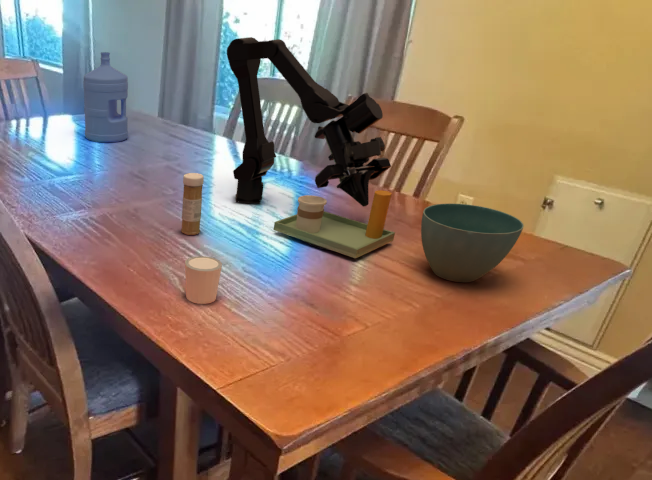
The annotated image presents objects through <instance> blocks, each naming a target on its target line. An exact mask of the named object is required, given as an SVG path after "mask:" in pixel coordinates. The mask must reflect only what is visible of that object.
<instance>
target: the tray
mask: <svg viewBox="0 0 652 480" xmlns="http://www.w3.org/2000/svg"><path fill="white" fill-rule="evenodd" d="M392 195H393V193H392V192H391V191H389V190H382V189H381V190H380V189H377V190H375V191H374V193H373V197H372V202H371V207H370V211H369V216H368V221H367V223H365V222H362V221H358V220H354V219H353V218H348V217H346V216H341V215H339V214H336V213H332V212H328V211H326V210H324V213H323V217H322V221H321V226H320V231H319V232H317V233H309V232H306V231H303V230H300V229H297V228H295V227H296V221H297V213H296V214H293V215H290V216H287V217H285V218H282V219H279V220H277V221H274V223H273V231H275V232H278V233H280V234H284V235H287V236H289V237H292V238H296V239H298V240H301V241H303V240H304V241H307V242H310V243H312V244H315V245H318V246H321V247H324V248H327V249H330V250H329V251H333V252H336V253H339V254H342V255H344V256H347V257H349V258H353V259H357V258H359V257H361V256H363V255H364V256H365V255H366V254H368V253H370V252H373V251H374V250H376V249H379V248H382V247H384V246H385V245H387V244H389V243H392V242H394V240H395V235H396V232H395V231H393V230H392V231H391V230H389V229H385V225H386V220H387V215H388V212H389V207H390V203H391V199H392ZM304 241H303V242H304Z"/></svg>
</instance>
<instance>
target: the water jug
mask: <svg viewBox="0 0 652 480" xmlns="http://www.w3.org/2000/svg"><path fill="white" fill-rule="evenodd" d="M110 54H111V52H106V51H105V52H104V51H102V52H100V65H99V66H98V67H95V68H94V69H92V70H91V71H88V72H87V73H85V74H84V75H83V82H82V83H83V84H82V85H83V86H82V87H83V99H84V101H83V102H84V103H83V104H84V106H83V112H84V136H85V138H86V139H87V140H88V141H91V142H94V143H118V142H123V141H125V140H127V139H128V137H129V131H128V116H127V98H128V96H129V95H128V93H129V92H128V90H129V81H128V80H129V79H128V75H127V74H125V73H123V72H122V71H120V70H118V69H116V68H114V67H113V66H111V58H110ZM118 101H120V113H118Z"/></svg>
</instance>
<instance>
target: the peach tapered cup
mask: <svg viewBox="0 0 652 480" xmlns="http://www.w3.org/2000/svg"><path fill="white" fill-rule="evenodd" d="M222 268H223V263H222V261H221V260H219V259H217V258H215V257H212V256H204V255H199V256H197V255H196V256H191V257H188V258H187V259H186V260H185V262H184V271H185V273H184V275H185V297H186V299H187V301H189V302H190V303H194V304H196V305H197V304H198V305H207V304H211V303H214V302H215V301H216V300H217V294H218V288H219V284H220V278H221V274H222V273H221V272H222Z"/></svg>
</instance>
